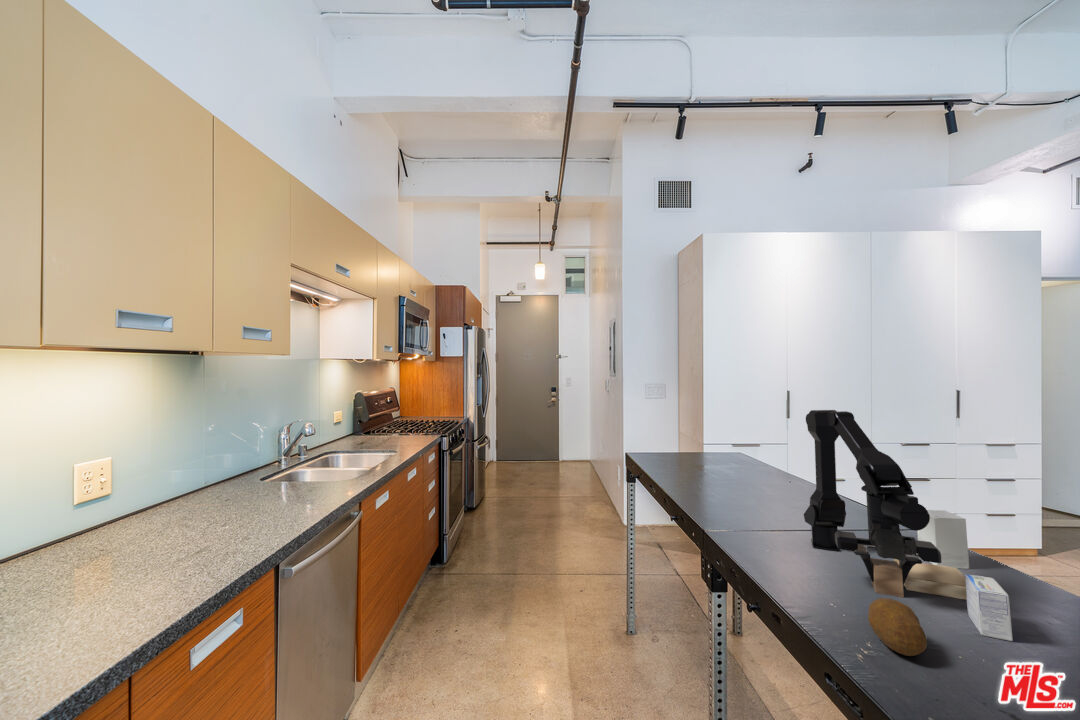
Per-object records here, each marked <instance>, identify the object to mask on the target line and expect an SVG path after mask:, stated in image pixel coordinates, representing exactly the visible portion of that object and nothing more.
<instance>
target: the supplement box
mask: <svg viewBox="0 0 1080 720" xmlns="http://www.w3.org/2000/svg"><path fill="white" fill-rule="evenodd" d="M926 510H927V511H928V514H929V515H930V521H929V523H928V525H927V526H926V527H925V528H924V529H921V530H917V540H918V541H927V542H931V543H932V544H933V545H935V547H936V548H937V549H938V550H939V551H940V553H941V561H942V563H934V562H929V564H933V565H940V566H947V567H954V568H957V569H963V570H965V569H966V570H969V569H970V560H969V545H968V532H967V519H966V518H964V517H962V516H960V515H957V514H955V513H952V512H950V511H947V510H940V509H939V510H937V509H936V510H935V509H933V510H931V509H926Z"/></svg>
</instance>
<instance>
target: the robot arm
mask: <svg viewBox="0 0 1080 720" xmlns="http://www.w3.org/2000/svg"><path fill="white" fill-rule="evenodd" d="M805 423H806V425H807V431H808V432H809V434H810V436H811V437H812V438H813V439H814V460H815V461H814V462H815V490H814V492H813V493H812V495H811V496H810V497H809V506H808V507H807V508H806V510H805V512H804V513H803V518H804V522H805V523H807V525H810V528H811V529H810V530H811V540H810V541H811V547H812V548H815V549H820V550H821V549H822V550H828V551H834V552H835V551H837V552H841V550H842V551H848V552H853V553H854V555H856V556H859V557H860V558H861V560H862V561H863V563H864V566H865V568H866V571H867V573H868V576H869V579H870V581H872V582H874V575H873V570H872V565H871V560H870V558H871V554H870V552H869V551H868V548H870V549H876V550H875V551H876V554H877V556H878V557H880V558H882V559H892V560H894V559H897V560H899V566H900V568H901V569H902V577H903V587H905V586H904V583H905V581H906V578H907V576H908V574H909V571H910V570H911V568H912V567H913V566H914V565H915V564H922V563H923V562H926V563H930V562H934V563H942V561H941V553H940V551H939V550H938V549H937V548H936V547H935V545H933V544H932V543H931V542H927V541H918V539H916V538H915V537H913V536H906V535H902V533H901V528H900V526H902V527H904V528H906V529H909V530H911V531H917V530H921V529H924V528H925V527H926V526H927V525H928V523H929V521H930V515H929V514H928V511H927V510H928V509H927V508H926V507H925V506H924V505H922V504H920V503H919V498H918V497H916V496H914V490H913V488H912V484H911V483H910V482H909V480H908V478H907V477H906V476H905V475H906V474H905V473H904V472H903V469H902V467H900V465H899V464H898V463H897V462H896V461H895V460H894V459H893V458H892V457H891V456H890V455H888V454H886V453H885V452H882V451H880V450H879V449H878V448H877V447H876V446H875V445H874V443H872V441H871V439H870V438H869V437H868V436H867V434H866V433H865V431H864V430H863V429H862V428H861V426H860V425H859V424H858V422H857V421H856V419H855V416H854V413H852V412H850V411H844V410H843V411H838V410H835V409H813V410H809V413H806V416H805ZM839 437H840V438H841V439H842V440H843V442H844V444H845V445H846V447H847V448H848V450H850V453H851V454H852V455H853V456H854V458H855V460H856V465H855V470H856V471H857V473H858V476H859V478H860V479H861V481H862V482H863V484H864V485H863V486H861V491H863V492H865V493H866V494H865V495H866V508H867V509H866V510H867V511H866V512H867V527H868V538H863V537H862V538H861V537H857V536H856V533H855V532H853V531H843V530H839V529H838V527H839V528H844V527H845V524H846V523H845V522H846V518H847V517H846V516H847V512H846V502H845V501H844V499H842V498H841V497H840V495H839V494H838V491H837V468H836V467H837V466H836V465H837V463H836V440H837V439H838V438H839Z"/></svg>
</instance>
